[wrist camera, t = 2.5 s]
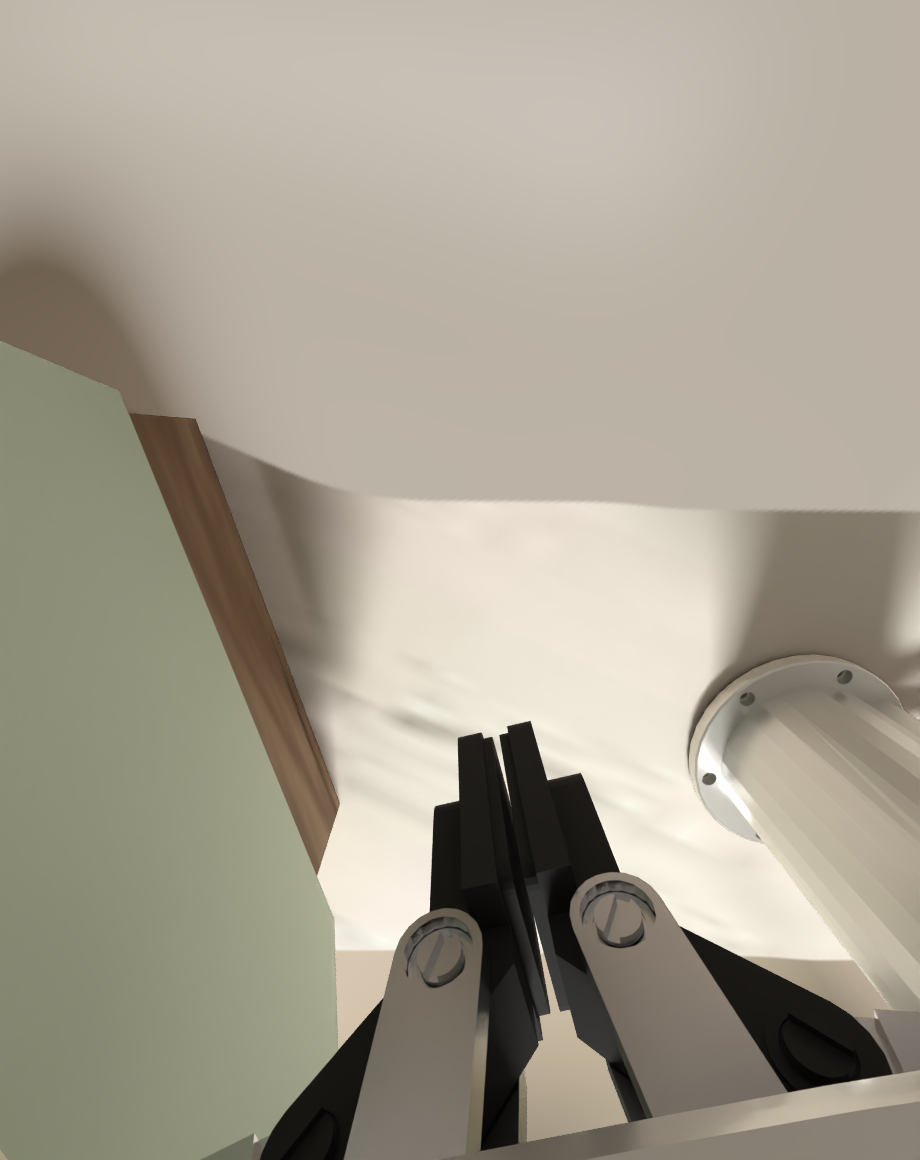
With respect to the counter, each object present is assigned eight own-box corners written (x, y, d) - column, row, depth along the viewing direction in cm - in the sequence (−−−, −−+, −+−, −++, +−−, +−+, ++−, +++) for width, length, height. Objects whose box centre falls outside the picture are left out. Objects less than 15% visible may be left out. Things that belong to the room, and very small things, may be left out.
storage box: (195, 418, 26) (85, 410, 18) (339, 804, 32) (303, 918, 25) (-123, 506, 27) (-353, 532, 19) (76, 863, 33) (-39, 990, 26)
